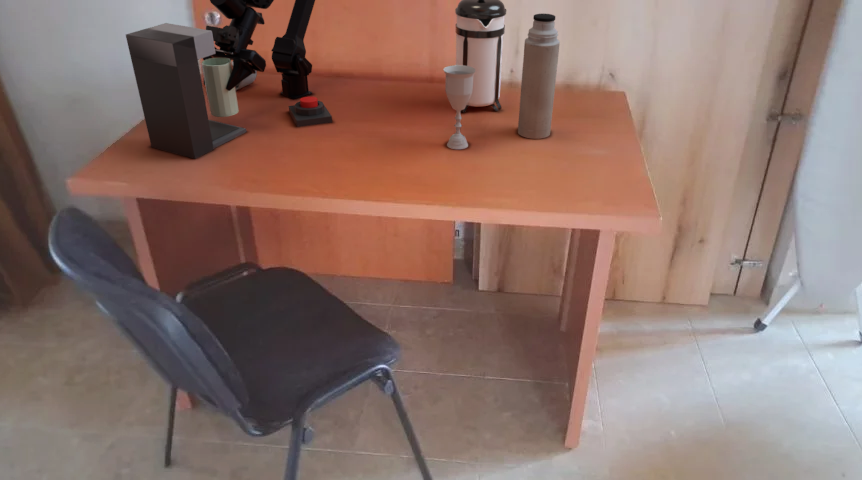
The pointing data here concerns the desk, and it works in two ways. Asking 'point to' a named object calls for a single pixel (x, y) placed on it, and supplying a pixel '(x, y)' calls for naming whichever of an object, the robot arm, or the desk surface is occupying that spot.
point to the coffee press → (481, 47)
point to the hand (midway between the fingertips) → (216, 87)
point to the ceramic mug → (246, 80)
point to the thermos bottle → (538, 78)
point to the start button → (308, 102)
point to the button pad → (310, 115)
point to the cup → (219, 87)
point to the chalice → (458, 98)
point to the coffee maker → (176, 89)
